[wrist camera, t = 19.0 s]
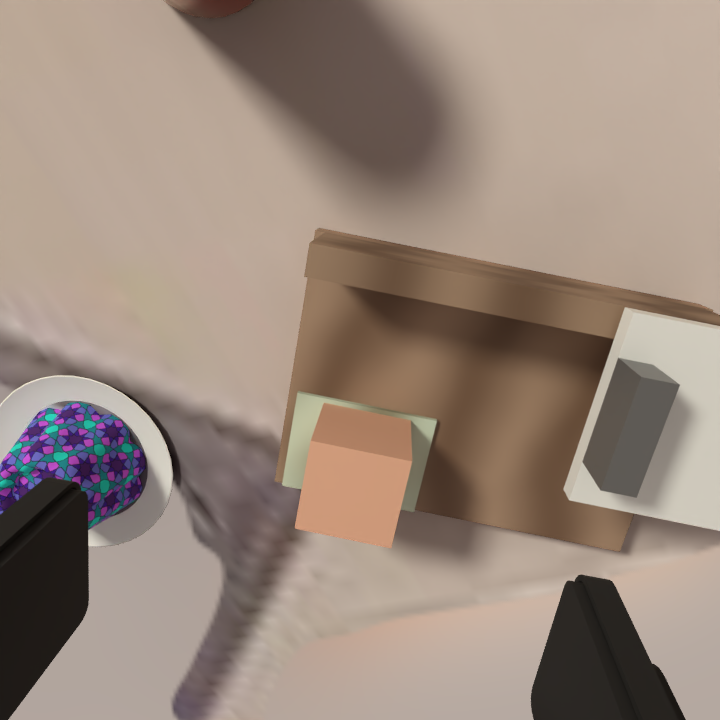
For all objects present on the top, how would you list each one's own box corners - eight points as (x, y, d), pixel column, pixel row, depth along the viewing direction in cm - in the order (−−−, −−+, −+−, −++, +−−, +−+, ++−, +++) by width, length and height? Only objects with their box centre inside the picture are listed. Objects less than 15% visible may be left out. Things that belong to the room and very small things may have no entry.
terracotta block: (410, 420, 33) (412, 461, 28) (392, 496, 34) (391, 548, 30) (323, 402, 33) (310, 440, 28) (309, 479, 34) (294, 528, 30)
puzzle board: (699, 304, 31) (774, 336, 25) (610, 536, 36) (656, 614, 30) (319, 228, 32) (298, 240, 25) (279, 469, 36) (253, 531, 30)
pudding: (89, 334, 35) (36, 360, 30) (215, 483, 37) (186, 530, 32) (-43, 435, 38) (-111, 475, 33) (83, 568, 40) (37, 624, 35)
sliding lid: (809, 344, 25) (872, 370, 21) (729, 522, 28) (774, 570, 24) (624, 306, 25) (659, 327, 22) (563, 489, 28) (585, 531, 24)
